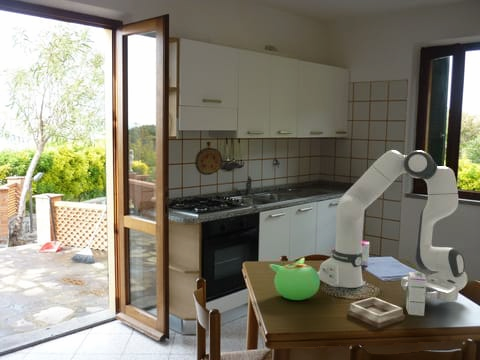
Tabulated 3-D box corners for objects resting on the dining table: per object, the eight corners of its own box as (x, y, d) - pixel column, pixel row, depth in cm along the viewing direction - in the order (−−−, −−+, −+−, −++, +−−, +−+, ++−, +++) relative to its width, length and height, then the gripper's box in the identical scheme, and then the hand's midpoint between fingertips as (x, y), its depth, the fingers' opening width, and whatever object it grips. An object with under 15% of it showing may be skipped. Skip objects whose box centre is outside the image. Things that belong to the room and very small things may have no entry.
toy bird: (285, 308, 171) (286, 270, 170) (265, 292, 187) (267, 257, 185) (326, 303, 178) (328, 266, 176) (304, 288, 193) (306, 254, 192)
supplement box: (368, 263, 232) (369, 241, 231) (367, 266, 227) (369, 244, 225) (356, 262, 234) (358, 240, 233) (355, 265, 228) (357, 242, 227)
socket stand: (347, 313, 168) (348, 303, 167) (372, 306, 176) (373, 296, 175) (378, 328, 156) (379, 317, 156) (404, 319, 164) (405, 308, 164)
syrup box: (424, 316, 168) (427, 277, 166) (407, 314, 169) (410, 276, 167) (421, 310, 173) (424, 272, 172) (405, 308, 175) (407, 271, 173)
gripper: (414, 270, 186) (392, 275, 178) (462, 285, 169) (441, 291, 162) (412, 285, 187) (391, 291, 179) (461, 301, 170) (440, 309, 162)
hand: (415, 291), depth 170 cm, fingers closed on syrup box, 8 cm apart
